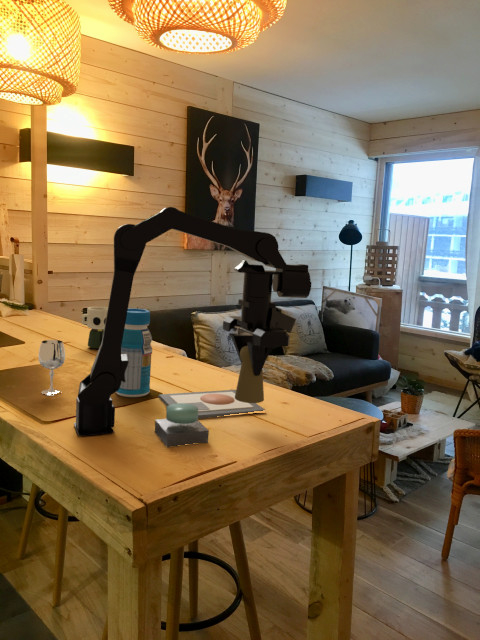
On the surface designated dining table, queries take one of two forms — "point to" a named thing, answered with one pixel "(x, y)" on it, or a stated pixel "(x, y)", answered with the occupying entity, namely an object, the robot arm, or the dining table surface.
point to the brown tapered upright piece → (249, 381)
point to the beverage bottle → (136, 354)
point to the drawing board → (211, 403)
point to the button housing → (181, 432)
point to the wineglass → (51, 359)
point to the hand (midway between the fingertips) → (251, 372)
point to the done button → (182, 413)
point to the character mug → (95, 325)
